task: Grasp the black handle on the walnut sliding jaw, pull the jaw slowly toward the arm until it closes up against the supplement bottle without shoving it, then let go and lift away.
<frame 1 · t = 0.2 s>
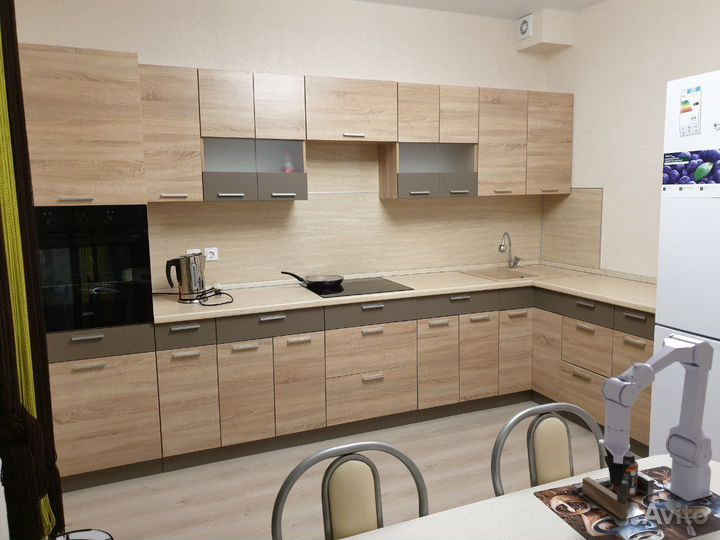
hand: (614, 477, 138), 10 cm above the table, tool pointing down, fingers open, 7 cm apart
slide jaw: (605, 488, 142), point 5 cm above the table, slide at 0.0 cm
supplement bottle: (624, 492, 150), on the table
vice frame: (623, 497, 147), on the table
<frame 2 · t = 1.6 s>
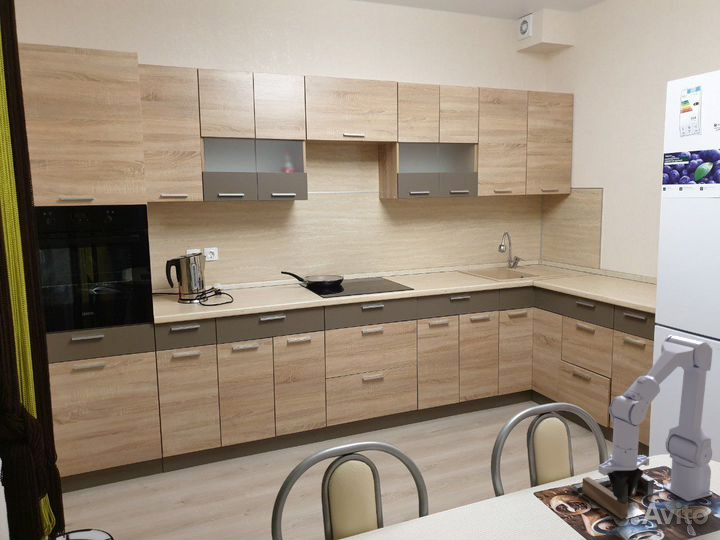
hand: (622, 495, 137), 6 cm above the table, tool pointing down, fingers closed on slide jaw, 2 cm apart
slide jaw: (605, 488, 142), point 5 cm above the table, slide at 0.0 cm, touching gripper
everything else where it was.
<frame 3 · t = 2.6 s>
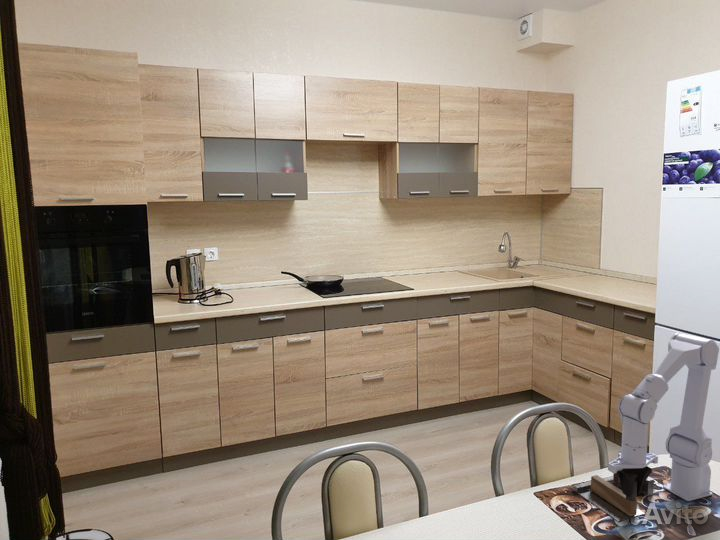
hand: (631, 493, 138), 6 cm above the table, tool pointing down, fingers closed on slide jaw, 2 cm apart
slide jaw: (613, 486, 143), point 5 cm above the table, slide at 3.0 cm, touching gripper
everything else where it was.
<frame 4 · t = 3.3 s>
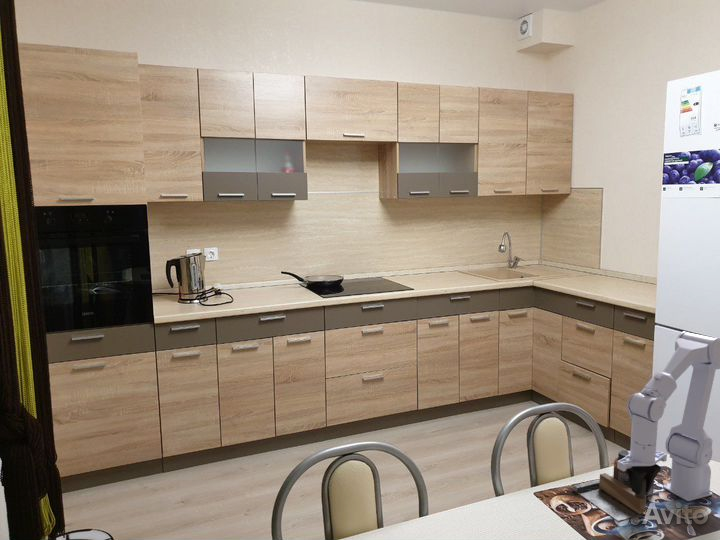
hand: (640, 491, 139), 6 cm above the table, tool pointing down, fingers closed on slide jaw, 2 cm apart
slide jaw: (622, 483, 144), point 5 cm above the table, slide at 6.0 cm, touching gripper
everything else where it was.
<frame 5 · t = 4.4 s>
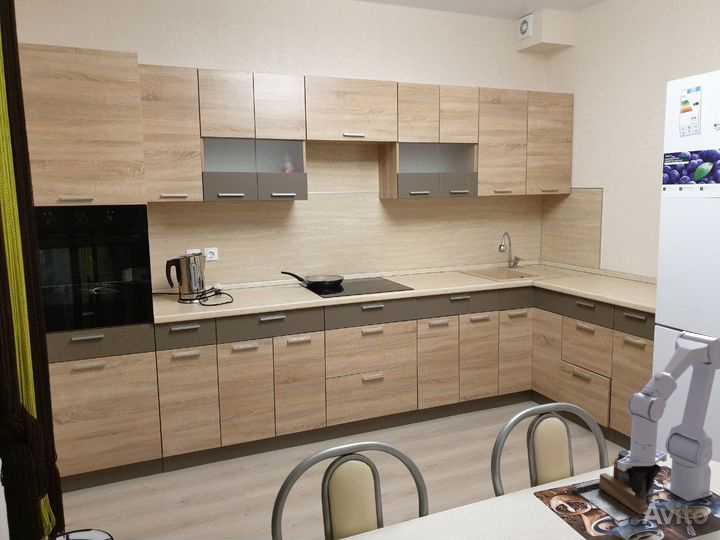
hand: (640, 491, 139), 6 cm above the table, tool pointing down, fingers closed on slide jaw, 2 cm apart
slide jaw: (622, 483, 144), point 5 cm above the table, slide at 6.0 cm, touching gripper
everything else where it was.
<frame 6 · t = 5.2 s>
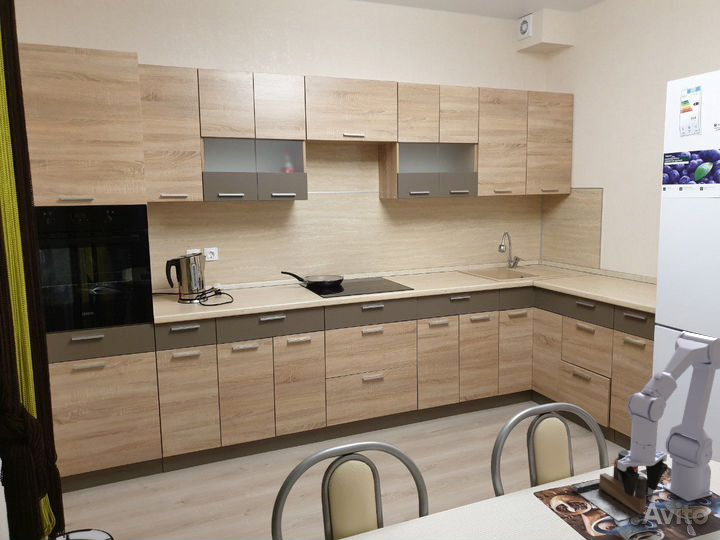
hand: (640, 491, 139), 6 cm above the table, tool pointing down, fingers open, 7 cm apart
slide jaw: (622, 483, 144), point 5 cm above the table, slide at 6.0 cm
everything else where it was.
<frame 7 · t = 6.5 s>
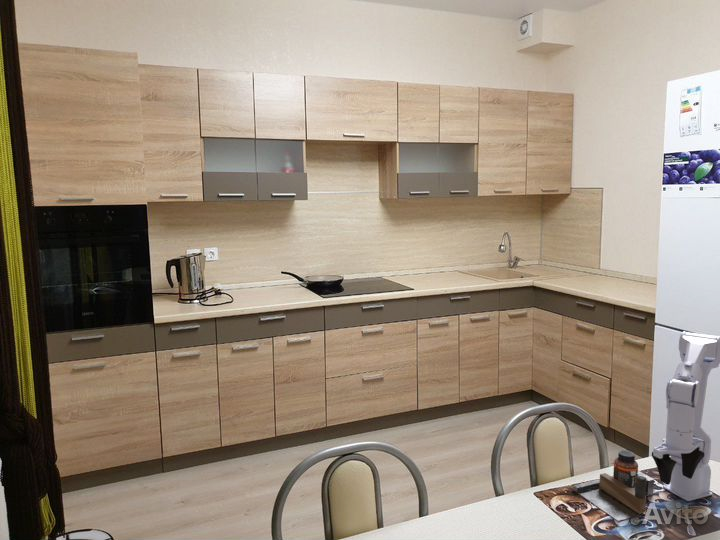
hand: (676, 479, 136), 10 cm above the table, tool pointing down, fingers open, 7 cm apart
nothing on the table moved.
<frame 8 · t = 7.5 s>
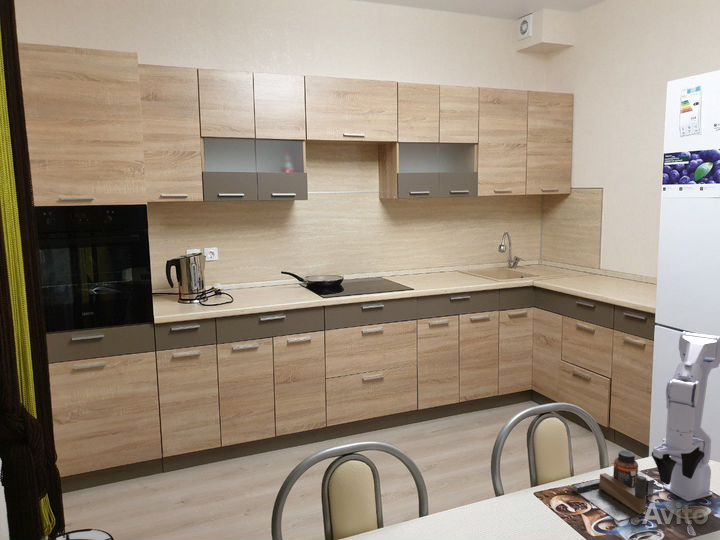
hand: (676, 479, 136), 10 cm above the table, tool pointing down, fingers open, 7 cm apart
nothing on the table moved.
at the end: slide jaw slide at 6.0 cm; supplement bottle moved 0.2 cm from its start; supplement bottle tilted 0° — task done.
